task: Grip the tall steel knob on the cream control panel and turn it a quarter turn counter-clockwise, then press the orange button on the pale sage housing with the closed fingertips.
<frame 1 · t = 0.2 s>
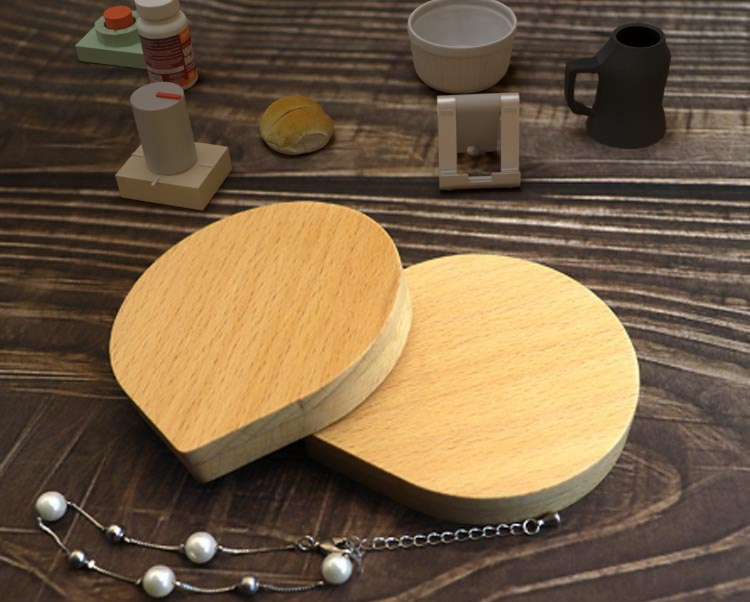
mug: (612, 128, 117), on the table
tablet stand: (477, 172, 112), on the table
bread roll: (298, 137, 119), on the table
button box: (126, 50, 136), on the table
pill bottle: (175, 83, 129), on the table
dial: (164, 127, 109), point 7 cm above the table, hinge at 0.0°
beige square base: (177, 183, 114), on the table
button: (118, 18, 132), point 4 cm above the table, slide at 0.1 cm
ramekin: (461, 74, 127), on the table
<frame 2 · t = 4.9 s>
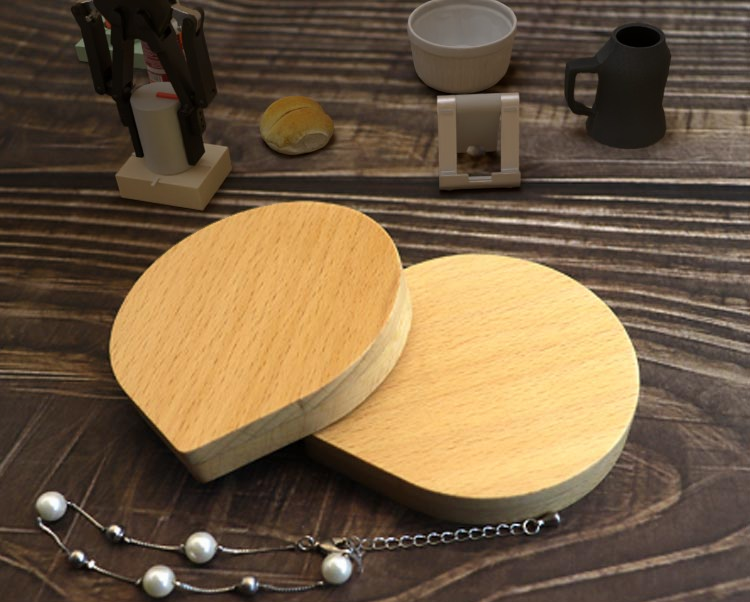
hand: (170, 154, 111), 4 cm above the table, tool pointing down, fingers closed on dial, 6 cm apart
dial: (164, 127, 109), point 7 cm above the table, hinge at 0.0°, touching gripper
everything else where it was.
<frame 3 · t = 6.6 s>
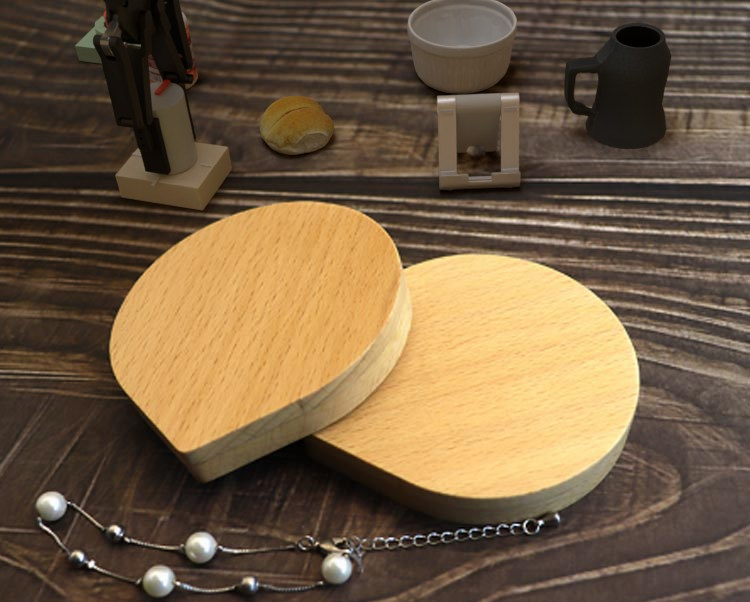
hand: (171, 154, 111), 4 cm above the table, tool pointing down, fingers closed on dial, 6 cm apart
dial: (164, 127, 109), point 7 cm above the table, hinge at 90.6°, touching gripper
everything else where it was.
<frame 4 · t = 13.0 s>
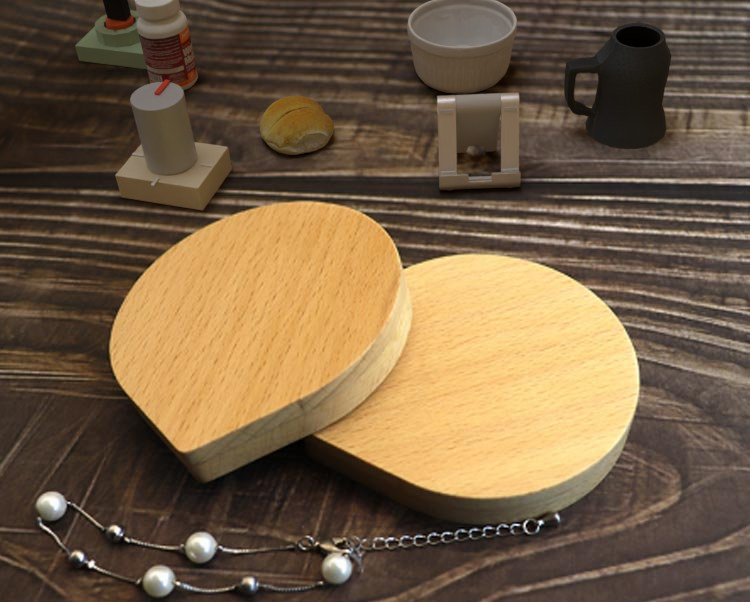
hand: (119, 16, 132), 5 cm above the table, tool pointing down, fingers closed
dial: (164, 127, 109), point 7 cm above the table, hinge at 90.5°
button: (120, 25, 133), point 4 cm above the table, slide at -0.8 cm, touching gripper
everything else where it was.
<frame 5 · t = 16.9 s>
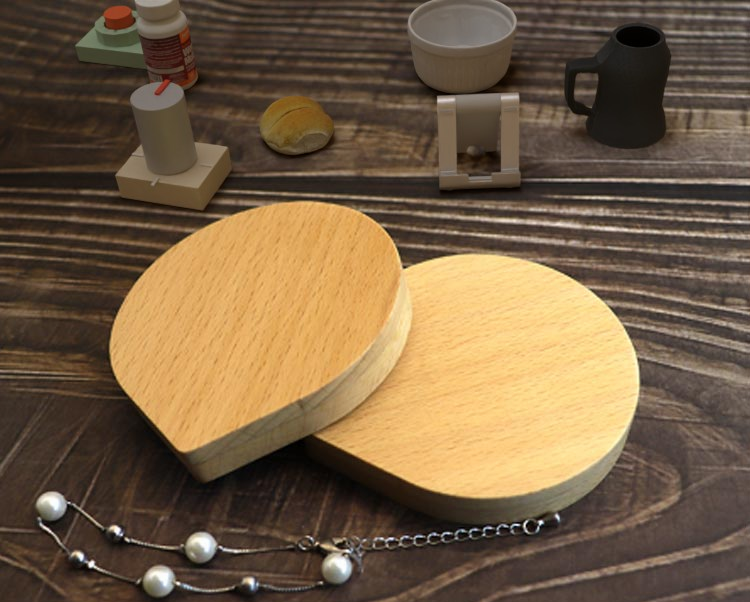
button: (118, 18, 132), point 4 cm above the table, slide at 0.1 cm
everything else where it was.
at the end: dial at +90° (first picture: +0°); button pushed in 1.0 cm at the most during the clip, back to where it started at the end; button slide at 0.1 cm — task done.
